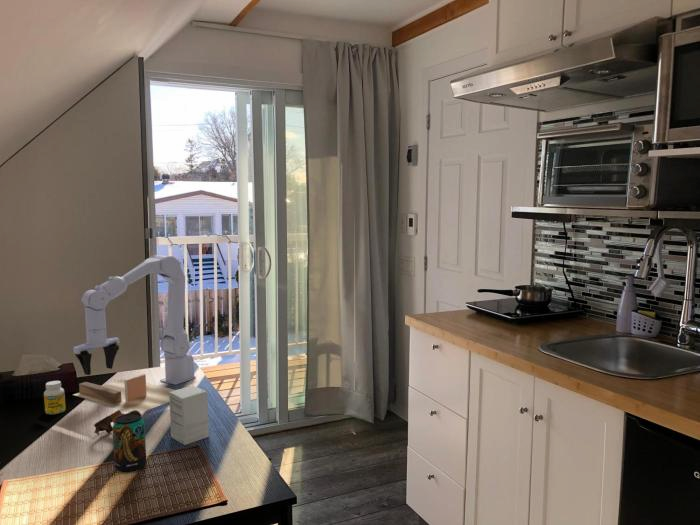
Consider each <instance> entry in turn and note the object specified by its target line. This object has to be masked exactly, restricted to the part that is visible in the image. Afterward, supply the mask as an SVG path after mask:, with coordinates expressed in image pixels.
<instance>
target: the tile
mask: <svg viewBox="0 0 700 525" xmlns="http://www.w3.org/2000/svg"><path fill="white" fill-rule="evenodd" d="M127 378H128V379H125V378H124V379H125V380H124V384H125V402H130V401H133V400H136V399H139V398H142V397H144V396H147V394H146V383H147V378H146V374H145V373H141V374H138V375H135V376H133V377H127Z"/></svg>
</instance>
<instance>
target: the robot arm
mask: <svg viewBox="0 0 700 525" xmlns="http://www.w3.org/2000/svg"><path fill="white" fill-rule="evenodd" d="M151 274H152V275H154V274H155V275H159V276H161V277H162V278H163V279H164V280H165V281H166V282H168V287H167V288H168V290H167V291H168V292H167V316H166V317H167V318H166V328H165V329H164V330H163V332H162V338H161V340H160V344H159V347H160V349H161V351H163V355H164V371H165V372H164V374H165V378H163V379H162V378H161V379H160V380H159V382H163V383H166V384H170V385H175V386H176V385H179V384H183V383H184V382H187V381H191V380H194V379H196V377H197V376H196V375H195V361H194V357H193V355H192V354H191V353H190V352H189V351H190V347H191V345H190V342H189V339H188V336H189V335H188V333H187V332H186V330H185V329H184V323H185V322H184V321H185V320H184V318H185V317H184V316H185V294H186V292H185V291H186V276H185V273H184V271H183V269H182V262H181V261H180V260H179V259H177V258H176V257H175V256H173V255H172V256H171V255H161V254H154V255H152V256H151V257H148V258H146V259H145V260H144V261H142V262H141V263H140V264H139V265H137V266H135V267H133V269H131V270H129V271H128V272H127V273H125V274H124V275H122V276H118V275H115V276H109V277H108V278H107V279H108V280H106V281H105V282H103V283H101V284H100V285H99V284H98V285H95V286H94V288H95V289H89V290H86V291H85V292H84V293H83V295H82V297H81V299H80V303H81V305H82V306H83V307H84V313H85V314H84V315H85V316H84V317H85V319H84V320H85V334H86V336H85V337H86V342H85V343H82V344H79V345H76V346H73V347H72V349H73V354H74V355H75V357H76V358H77V360H78V361H79V363H80V365H81V367H82V370H83V372H84V375H87V376H90V375H91V374H92V369H91V362H92V355H93V354H92V353H90V352H89V351H93V350H97V349H101V348H102V349H103V351H104V356H105V367H106V368H107V369H109V370H110V369H111V370H112V369H113V366H114V362H115V357H116V355H117V353H118V351H119V349H120V343H121V342H120V337H110V338H108V335H107V319H106V307H107V306H108V304H109V302H111V301H113V300H114V299H115V298H117V297H119V296H121V295H122V294H123V293H125V292H126V291H127V290H128V289H127V288H128V286H129V285H131V284H133V283H135V282H136V281H138V280H140V279H142V278H143V277H145V276H147V275H151Z"/></svg>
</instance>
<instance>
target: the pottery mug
mask: <svg viewBox="0 0 700 525" xmlns="http://www.w3.org/2000/svg"><path fill="white" fill-rule="evenodd" d="M125 414H139V415H141V419H142V418H143V417H142V416H143V415H142V414H141V413H140V412H139V411H137V410H134V411H131V412H129V411H128V412H127V413H122V411H121V409H118V410H116V411H115V412H113V413H111V414H109V415H107V416H106V417H104V418H102V419H101V420H99V421H97V422H96V423H94V424H93V426H94V428H95V430H94V433H95V434H96V435H97V436H98V435H99V434H100V432H104V431H105V433H107V434H111V433H113V429H112V428H113V426H112V424H111V423H113V425H114V424H115V419H116V418H117V417H119V416H121V415H125ZM142 420H143V419H142Z"/></svg>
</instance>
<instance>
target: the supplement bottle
mask: <svg viewBox="0 0 700 525" xmlns="http://www.w3.org/2000/svg"><path fill="white" fill-rule="evenodd" d="M43 401H44V402H43V403H44V412H45V414H46V415H58V414H61V413H64V412H65V411H66V396H65V389H64V388H63V387H62V382H61V381H60V380H52V381H51V380H50V381H47V382H46V383H45V391H44V392H43Z"/></svg>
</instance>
